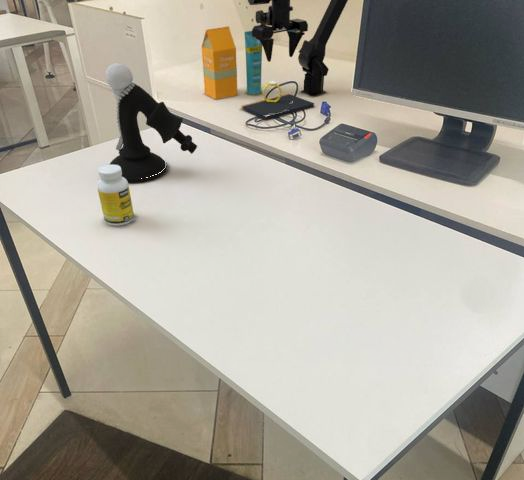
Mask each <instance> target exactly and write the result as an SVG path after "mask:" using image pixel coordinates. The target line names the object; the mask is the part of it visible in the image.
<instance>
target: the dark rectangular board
mask: <svg viewBox="0 0 524 480" xmlns="http://www.w3.org/2000/svg"><path fill="white" fill-rule="evenodd" d="M278 97H279V95H277V96H273V97H269V98H266V99H267V100H276V99H278ZM292 100H293V104H289V103H290V102H291V101H292ZM314 106H315V103H314V102H312V101H309V100H308V99H304V98H301V97H299V96H296V95H293V94H291V93H284V94H281V97H280V99H279V100H278V101H277V102H276V103H275V102H267V101H266V100H265V99H262V100H258V101H257V100H256V101H254V102H249V103H246V104H242V105H241V106H240V110H242V111H244V112H247V113H249V114H251V115H253V116H256V117H258V118H260V119H262V120H264V121H268V120H272V119H275V118H280V117H283V116H285V115H289V114H294V113H297V112H300V111H303V110H307V109H310V108H314ZM285 109H287V110H289V111H286V112H282V113H279V114H275V115H271V116H268V117H265V116H263V115H267V114H269V113H278V112H281V111H283V110H285Z"/></svg>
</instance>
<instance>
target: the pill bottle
mask: <svg viewBox="0 0 524 480" xmlns="http://www.w3.org/2000/svg"><path fill="white" fill-rule="evenodd" d="M109 164H110V163H109ZM109 164H104V165H102V166H100V167H99V168H98V169H97V171H98V177H99V178H100V179H99V180H98V182H97V183H96V188H97V193H98V197H99V201H100V207H101V211H102V215H103V219H104V222H105V223H106V224H108V225H110V226H124V225H127V224H130V223H131V222H132V221H133V220H134V218H135V213H134V207H133V201H132V196H131V192H130V191H131V190H130V185H129V183H128V181H127V180H126V179H125V178H124V177H122V176H121V175H122V170H121V167H120V166H118V165H113V164H110V165H109Z"/></svg>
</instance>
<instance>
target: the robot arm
mask: <svg viewBox="0 0 524 480" xmlns="http://www.w3.org/2000/svg"><path fill="white" fill-rule="evenodd" d="M348 1H349V0H330V1H329V4H328V5H327V8H326V10H325V12H324V14H323V15H322V18H321V20H320V22H319V24H318V26H317V27H316V31H315V32H314V35H313V37H312V38H311V39H309V40H306V39H305V40H304V41H303V43H302V45H301V48H300V49H299V50H298V53H299V54H298V57H297V60H298V64H299V65H300V66H301V69H302V72H305V73H304V79H303V88H302V90H300V92H301V93H303V94H304V95H307V96H311V97H316V96H320V95H324V94H326V93H327V91H326V90H324V86H325V85H324V84H325V77H326V76H328V73H329V71H330V70H329V68H328V66H327V65H326V64H325V63H324V59H325V57H326V47H327V44H328V41H329V40H330V37H331V36H332V33H333V31H334V30H335V28H336V25H337V23H338V22H339V19H340V17H341V15H342V14H343V11H344V10H345V8H346V5H347V4H348ZM247 2H248V4H249V6H259V5H268V4H270V3H271V5H268V9H267V11H266V12H264V10H262V9H261V10H256V11H255V16H254V18H255V22H256V24H258V25H254V26H253V27H252V29H251V31H252V36H253V37H256V39H258V40H259V41H260V42H261V43H262V49H263V51H264V54H265V58H266V60H267V62H268V63H271V61H272V56H273V49H274V41H275V38H273V37H274V34H278V33H284V32H286V33H287V37H288V56H289V58H293V56H294V54H295V53H296V49H297V47H298V45H299V43H300V42H301V40H302V38H303V36H305V34H306V33H305V32H308V30H309V24H308V22H307V20H304V19H300V18H293V19H291V12H292V11H294V7H293V6H291V0H247Z"/></svg>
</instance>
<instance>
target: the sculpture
mask: <svg viewBox="0 0 524 480" xmlns="http://www.w3.org/2000/svg"><path fill="white" fill-rule="evenodd" d="M105 80H106V83H107V85H108V86H109V87H110V89H109V90H110V91H111V92H112V93H113V96H114V100H115V102H116V110H115V111H116V123H117V128H118V131H119V133H118V134H119V139H118V141H117V144H116V147H115V150H116V151H118V154H119V155H117V156H116V157H115V158H113V159H112V160H111V161H110V162H109V164H108V165H110V164H113V165H118V166H120V167H121V170H122V175H121V176H122V177H124V178H125V179H126V180H127V181H128V184H137V183H138V184H141V183H145V182H151V181H155V180H156V179H158V178H160V177H162V176H164V175H165V174H166V172H167V171H168V165H167V166H166V168H165V161H166V160H165V159H164V158H162V157H161V156H160V155H158V154H156V153H154V152H151V150H152V149H151V147H149V146H147V145H146V144H145V143H144V142H143V139H142V135H141V131H140V127H139V122H138V121H139V120H138V116H139V113H142V114H143V115H144V117H145V118H146V121H145V125H146V126H148V127H150V128H152V129H153V130H155V131H156V132H157V133H158V135H159V136H160V138H161V140H162V143H163V144H166V143H168V142H169V141H171V140H172V139H173V140H174V141H176V142H177V143H178V144H179V145H180V147H179V148H180V150H181V151H183V152H189V153H190V155H192V154H193V153H194V152H195V151H196V150H197V148H198V145H197V144H196V143H195V142H194V141H193V137H192V135H190V134H187V135H185V134H184V133H183V132H182V131H181V130H180V128H181V127H182V123H183V120H184V118H183V117H179V116H176V115H175V114H173V113H172V112H171V111H170V110H169V109H168V107H167V106H166V104H165V102H164V101H160V102H158V101H157V100H156V99H155V98H153V96H152V95H151V94H150V93H149V92H147V91H146V90H145V89H144V88H143V87H141V86H140V85H138V84H136V83H135V82H134V81H133V80H134V75H133V72H132V70H131V69H130V68H129V67H128V66H127V65H126V64H124V63H120V62H115V63H112V64H111V65H109V66H107V69H106V70H105ZM163 159H164V160H165V161H164V160H163ZM164 168H165V169H164ZM163 169H164V170H163ZM162 170H163V171H162ZM161 171H162V172H161ZM159 172H161V173H159ZM158 173H159V174H158ZM155 174H157V175H155ZM152 175H154V176H152ZM150 176H151V177H150ZM146 177H148V178H146ZM141 178H142V179H141Z"/></svg>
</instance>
